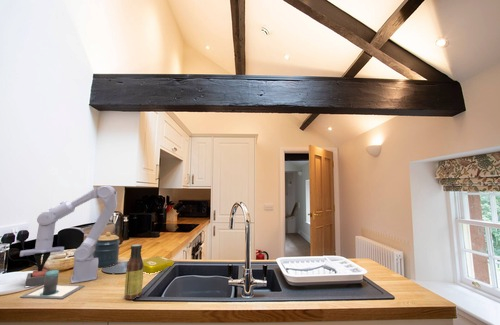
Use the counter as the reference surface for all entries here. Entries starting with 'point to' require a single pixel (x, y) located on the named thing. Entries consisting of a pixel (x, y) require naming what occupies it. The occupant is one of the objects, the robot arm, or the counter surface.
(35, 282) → the button housing
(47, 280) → the dark piece
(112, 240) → the canister
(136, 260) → the sauce bottle
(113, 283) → the counter surface
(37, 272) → the button
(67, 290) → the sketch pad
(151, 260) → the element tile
